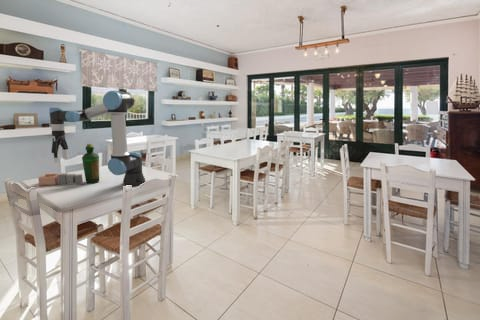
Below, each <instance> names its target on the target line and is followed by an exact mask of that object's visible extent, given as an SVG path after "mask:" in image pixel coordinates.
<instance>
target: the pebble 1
mask: <svg viewBox="0 0 480 320" xmlns="http://www.w3.org/2000/svg"><path fill="white" fill-rule="evenodd" d="M58 174H59V175H58V180H59V183H58V184H59V185H68V184H67V181H66V175H67V174H69V173H68V172H66V173H65V172H64V173H62V172H61V174H60V173H58Z"/></svg>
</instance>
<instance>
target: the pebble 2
mask: <svg viewBox="0 0 480 320" xmlns="http://www.w3.org/2000/svg"><path fill="white" fill-rule="evenodd" d="M83 183H84V179H83V174H78V173H77V174H76V173H75V183H74V184H75V185H80V184H81V185H82V184H83Z"/></svg>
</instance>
